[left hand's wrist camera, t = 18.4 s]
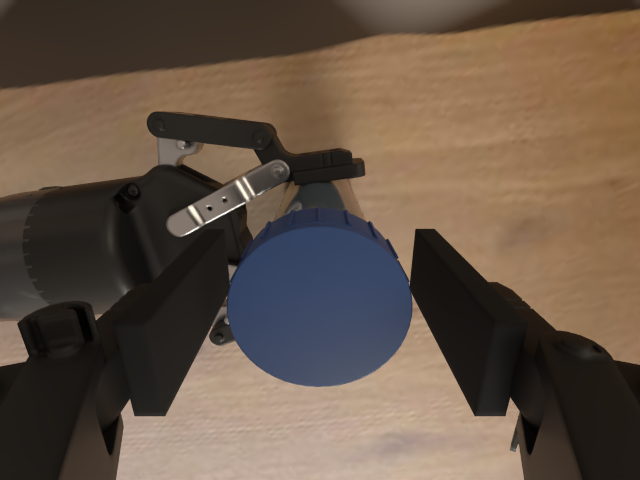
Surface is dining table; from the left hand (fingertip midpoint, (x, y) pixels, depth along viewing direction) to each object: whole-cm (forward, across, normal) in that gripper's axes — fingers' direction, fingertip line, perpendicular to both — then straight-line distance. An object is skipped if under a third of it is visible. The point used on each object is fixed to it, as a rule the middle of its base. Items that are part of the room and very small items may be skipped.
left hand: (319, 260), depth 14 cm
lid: (-4, 0, 0) cm, 4 cm away
